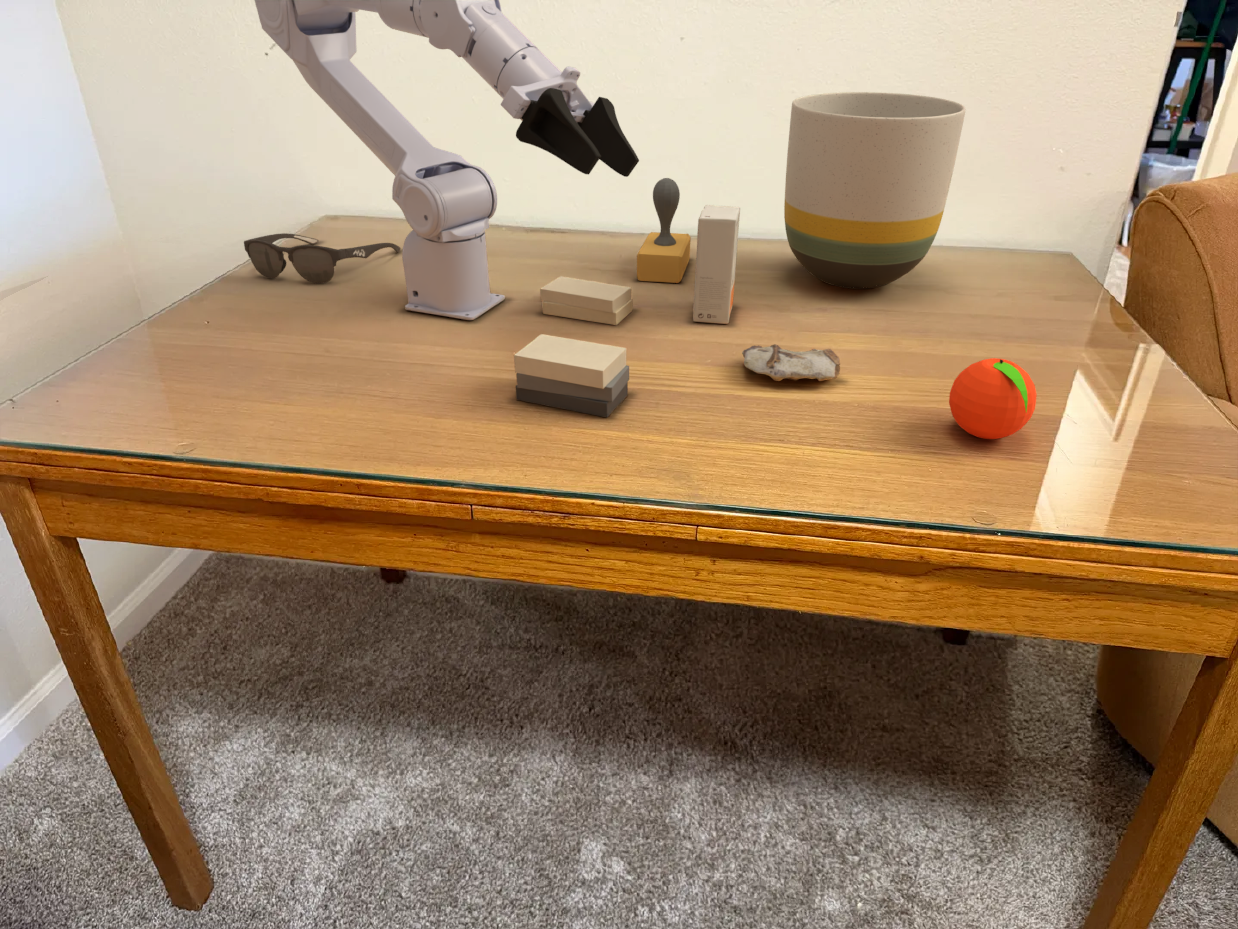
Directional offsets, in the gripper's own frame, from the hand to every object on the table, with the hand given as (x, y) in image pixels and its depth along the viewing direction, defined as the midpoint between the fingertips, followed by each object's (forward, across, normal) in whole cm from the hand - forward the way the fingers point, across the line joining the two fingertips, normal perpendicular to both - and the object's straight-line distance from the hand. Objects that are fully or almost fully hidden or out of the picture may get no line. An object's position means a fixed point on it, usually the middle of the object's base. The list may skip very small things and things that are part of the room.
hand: (613, 166), depth 80 cm
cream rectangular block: (+11, -7, +14) cm, 20 cm away
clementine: (+42, +4, -5) cm, 42 cm away
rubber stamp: (+1, +31, +15) cm, 34 cm away
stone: (+25, +8, +5) cm, 27 cm away
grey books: (+13, -7, +17) cm, 22 cm away
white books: (+2, +13, +19) cm, 23 cm away
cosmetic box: (+12, +19, +10) cm, 25 cm away
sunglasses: (-32, +11, +42) cm, 54 cm away
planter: (+19, +38, +1) cm, 43 cm away
